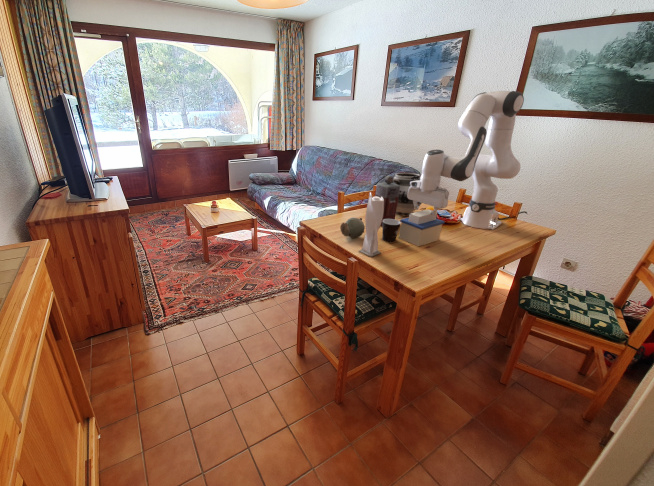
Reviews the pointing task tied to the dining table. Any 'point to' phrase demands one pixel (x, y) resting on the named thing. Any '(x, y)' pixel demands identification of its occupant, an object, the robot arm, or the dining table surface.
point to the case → (422, 217)
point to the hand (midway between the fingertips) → (424, 212)
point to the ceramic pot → (405, 192)
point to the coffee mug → (390, 230)
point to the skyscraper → (372, 225)
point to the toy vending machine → (388, 197)
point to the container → (420, 231)
